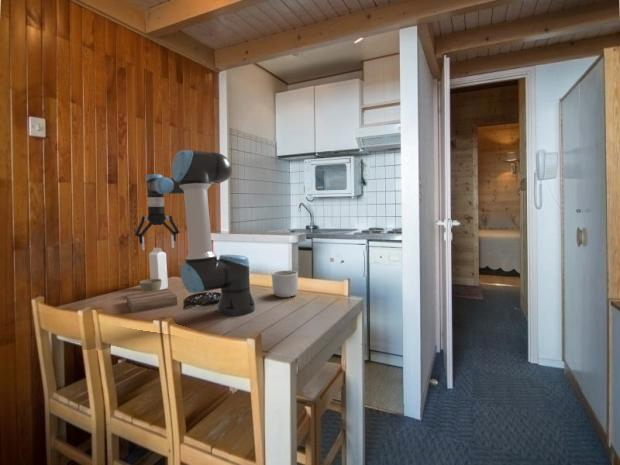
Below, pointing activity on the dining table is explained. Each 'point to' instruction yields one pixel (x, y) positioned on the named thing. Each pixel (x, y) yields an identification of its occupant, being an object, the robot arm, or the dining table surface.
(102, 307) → the dining table surface
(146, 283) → the olive green bowl
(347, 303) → the dining table surface
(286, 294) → the planter
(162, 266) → the milk
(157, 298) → the stand
